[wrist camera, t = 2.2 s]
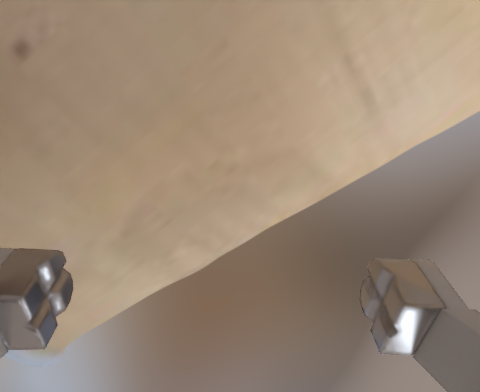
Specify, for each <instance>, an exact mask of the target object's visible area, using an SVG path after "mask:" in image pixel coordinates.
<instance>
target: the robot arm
mask: <svg viewBox="0 0 480 392" xmlns="http://www.w3.org/2000/svg"><path fill="white" fill-rule="evenodd" d="M65 263H66V259H65V256H64V254H63V252H61V251H59V250H43V249H23V248H19V249H14V248H0V358H2V357H3V356H4V355H5V354H6V353H7V352H8V350H29V349H45V348H46V346H47V344H48V342H49V340H50V338H51V337H52V335H53V333H54V331H55V329H56V327H57V325H58V324H57V321H56V316H58V315H59V314H60V313H62V312H63V311H65V310H66V308H67V306H68V304H69V302H70V300H71V295H72V291H73V280H72V277H71V274H70V273H69V272H68V271H66V270H65V269H64V268H63V266H64V265H65ZM367 270H368V272H369V274H370V276H368V277H367V278H366V279H364V280H363V281H362V284H361V288H360V303H361V307H362V310H363V313H364V315H365V316H366V317H367V318H368V319H369V320H371V321H372V322H373V325H372V328H371V333H372V335H373V337H374V340H375V342H376V344H377V347H378V349H379V352H380V354H397V355H414V356H413V357H414V358H415V360H416V361H418V363H420V364H421V366H423V368H424V369H426V371H427V372H428V373H429V374H430V375H431V376H432V377H433V378H434V379H435V380H436V381H437V382H439V384H440V385H441V386H442V387H443V388H444V389H445V390H446V391H447V392H480V312H478V311H477V310H472V309H471V310H470V309H469V308H468V307H467V306H466V304H465V303H464V302H463V300H462V299H461V298H460V296H459V295H458V294H457V292H456V291H455V290H454V288H453V287H452V286H451V284H450V283H449V282H448V280H447V279H446V278H445V276H444V275H443V274H442V272H441V271H440V270H439V268H438V267H437V265H436V264H435V263H434V262H432V261H431V260H429V259H410V260H408V259H372V261H370V263H369V266H368V268H367Z"/></svg>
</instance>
